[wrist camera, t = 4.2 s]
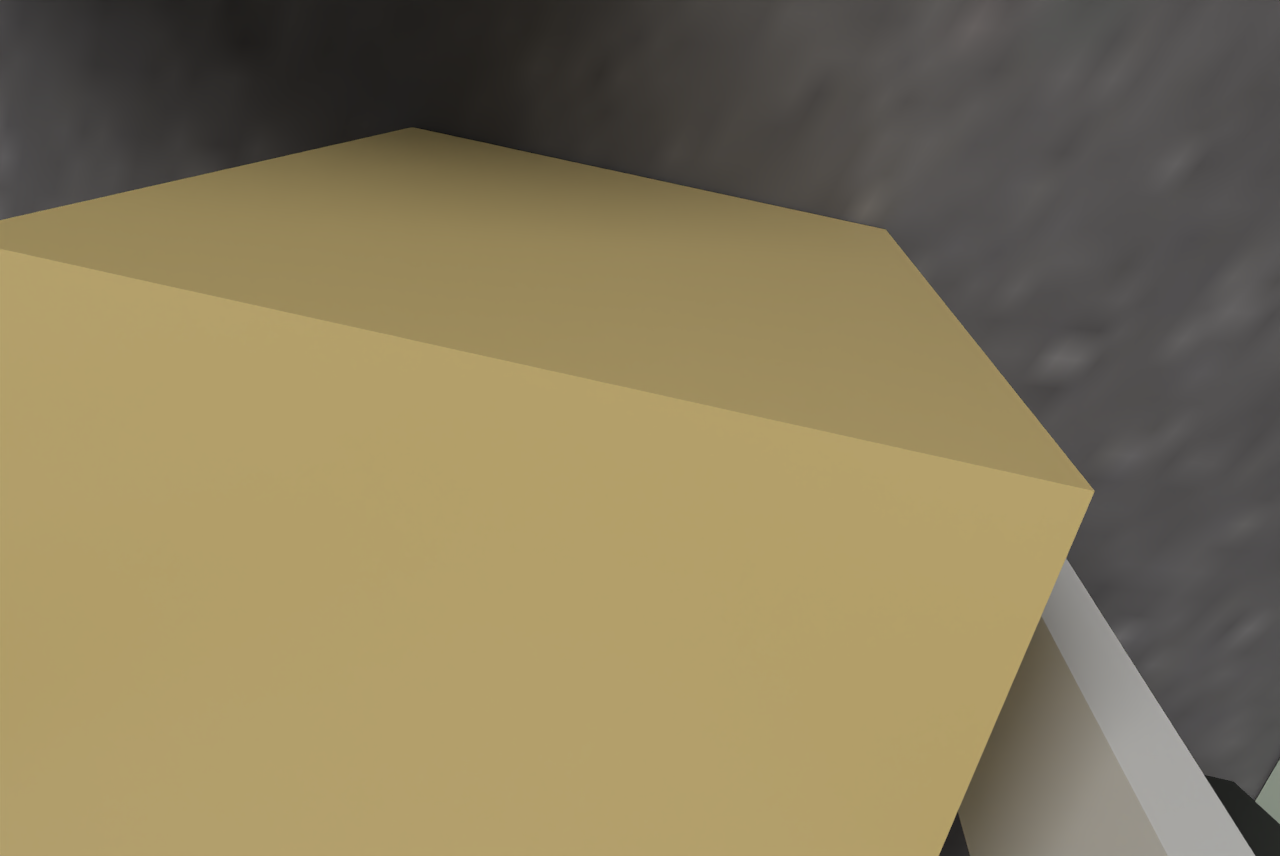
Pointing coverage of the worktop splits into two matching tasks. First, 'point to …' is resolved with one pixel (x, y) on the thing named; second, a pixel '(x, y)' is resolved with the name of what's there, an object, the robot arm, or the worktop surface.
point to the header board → (1271, 794)
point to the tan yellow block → (498, 519)
